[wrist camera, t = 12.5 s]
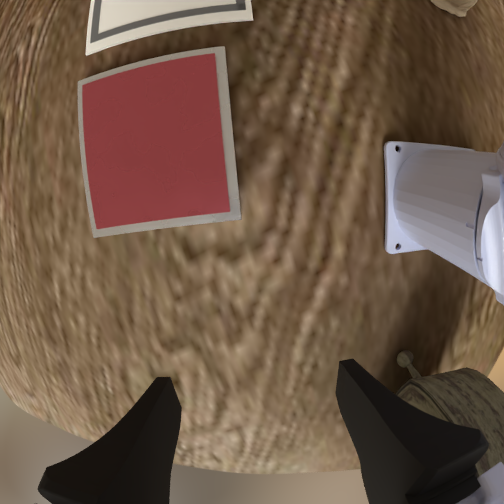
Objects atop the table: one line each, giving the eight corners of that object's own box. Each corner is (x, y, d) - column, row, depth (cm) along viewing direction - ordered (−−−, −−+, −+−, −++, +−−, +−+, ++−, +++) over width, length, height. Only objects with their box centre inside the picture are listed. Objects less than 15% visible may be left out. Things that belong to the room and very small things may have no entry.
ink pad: (225, 52, 15) (224, 43, 13) (241, 215, 18) (241, 220, 17) (85, 84, 15) (75, 80, 13) (101, 233, 18) (91, 239, 17)
